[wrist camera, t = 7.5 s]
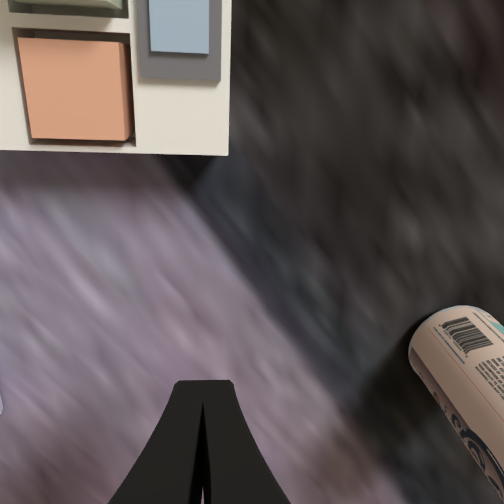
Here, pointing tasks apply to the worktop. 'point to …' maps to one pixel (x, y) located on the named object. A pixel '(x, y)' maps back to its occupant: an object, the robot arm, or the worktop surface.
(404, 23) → the worktop surface
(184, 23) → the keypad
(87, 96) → the terracotta key
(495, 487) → the beige capped bottle
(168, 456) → the robot arm
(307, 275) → the worktop surface
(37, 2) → the sage key
